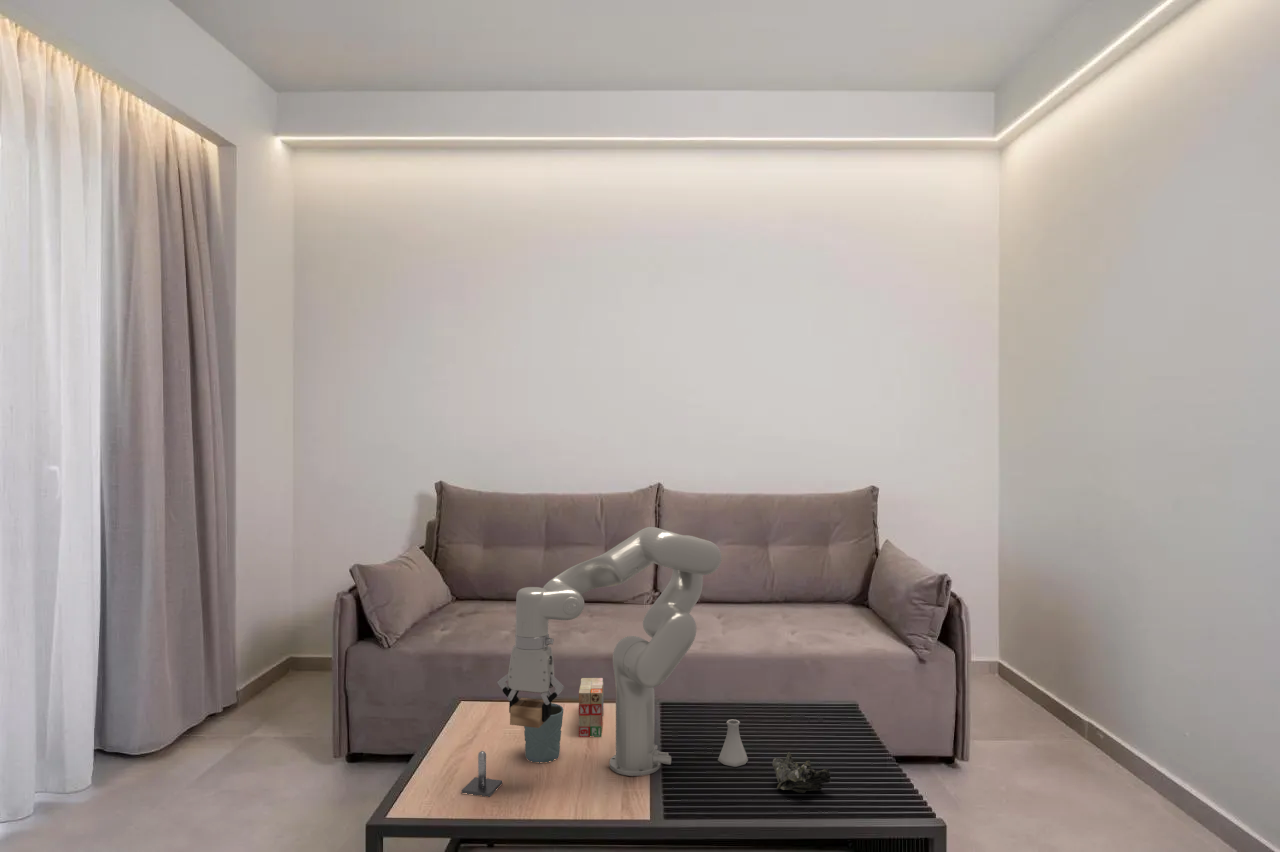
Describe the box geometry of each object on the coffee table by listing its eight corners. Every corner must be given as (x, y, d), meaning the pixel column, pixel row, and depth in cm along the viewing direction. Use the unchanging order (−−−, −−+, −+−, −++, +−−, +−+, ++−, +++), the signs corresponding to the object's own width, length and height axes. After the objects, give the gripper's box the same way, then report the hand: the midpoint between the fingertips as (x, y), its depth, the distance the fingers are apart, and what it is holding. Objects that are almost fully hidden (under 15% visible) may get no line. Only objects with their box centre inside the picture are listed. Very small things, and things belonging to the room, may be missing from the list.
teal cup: (514, 756, 213) (514, 709, 212) (545, 744, 220) (545, 699, 220) (541, 767, 206) (541, 719, 205) (571, 755, 213) (571, 708, 213)
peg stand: (502, 783, 197) (502, 746, 197) (489, 797, 190) (489, 758, 190) (474, 780, 199) (474, 743, 198) (461, 793, 192) (461, 755, 192)
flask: (753, 761, 210) (753, 721, 210) (736, 770, 205) (736, 729, 205) (730, 752, 215) (730, 714, 215) (712, 761, 210) (712, 721, 210)
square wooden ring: (549, 717, 198) (549, 700, 198) (538, 728, 191) (539, 710, 191) (521, 714, 199) (521, 697, 199) (510, 724, 192) (510, 707, 192)
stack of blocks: (582, 709, 246) (582, 667, 246) (603, 709, 246) (603, 667, 246) (578, 737, 225) (578, 692, 225) (601, 737, 225) (602, 692, 225)
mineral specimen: (846, 771, 192) (820, 735, 192) (811, 812, 186) (784, 774, 186) (810, 769, 205) (786, 735, 205) (777, 806, 199) (751, 771, 199)
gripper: (572, 640, 196) (570, 716, 197) (503, 634, 201) (501, 708, 201) (561, 649, 189) (560, 728, 189) (490, 642, 193) (488, 719, 193)
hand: (529, 717), depth 195 cm, fingers closed on square wooden ring, 7 cm apart
